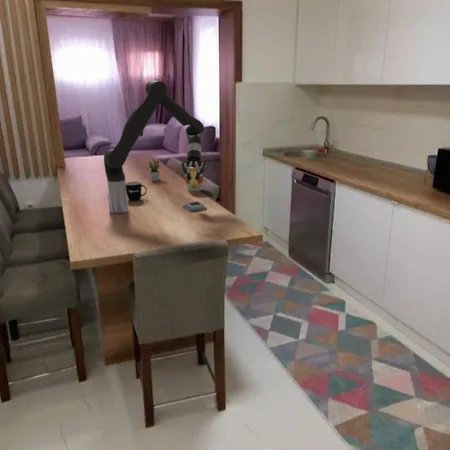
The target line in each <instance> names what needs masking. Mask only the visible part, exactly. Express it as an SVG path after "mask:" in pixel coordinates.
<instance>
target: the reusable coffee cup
mask: <svg viewBox="0 0 450 450" xmlns="http://www.w3.org/2000/svg"><path fill="white" fill-rule="evenodd" d="M185 169H186V171H188V166H187V165H186V167H185ZM201 169H202V165H201V166H200V167H199V171H201ZM184 181H185V182H184V183H186V184H185V185H186V188H187V191H188V192H200V191H202V187H203V183H204V173H203V174H200V179H199V180H198V181H197V183H198V187H197V188H190V181H188V180H187V174H184Z"/></svg>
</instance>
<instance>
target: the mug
mask: <svg viewBox="0 0 450 450" xmlns="http://www.w3.org/2000/svg"><path fill="white" fill-rule="evenodd" d="M142 188H144V190H145V192H144V193H143V194H142ZM147 192H148V189H147V187H146V186H145V185H143V184H142V182H141V181H135V180H133V181H127V182H126V193H127V200H129V201H130V202H137V201H138V202H139V201H140V200H141V198H142V197H143V196H145V195H146V194H147Z"/></svg>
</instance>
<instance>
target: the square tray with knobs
mask: <svg viewBox="0 0 450 450" xmlns="http://www.w3.org/2000/svg"><path fill="white" fill-rule="evenodd" d="M182 208H183V209H184V210H186V211H188V212H190V213H192V212H199V211H204V210H207V209H208V207H206V206H205V204H204V203H202V202H201V201H198V200H197V201H191V202H190V201H189V202H185V203H184V205H182Z"/></svg>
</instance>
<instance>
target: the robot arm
mask: <svg viewBox="0 0 450 450" xmlns="http://www.w3.org/2000/svg"><path fill="white" fill-rule="evenodd" d="M145 93H146V94H147V96H146V97H145V99H144V101H143V102H142V103H140V105H139V106H137V108H136V109H134V110H133V112H132V113H131V114H130V115H129V117H128V118H127V121H126V122H125V123H124V126H123V129H122V132H121V136H120V139H119V141H118V142H117V144H116V145H115V147H113V148H110V149H107V150H106V151H105V152H104V155H103V162H104V169H105V170H104V172H105V176H106V180H107V189H108V193H107V200H108V208H109V212H110V213H111V214H112V215H113V214H124V213H127V212H128V211H129V205H128V196H127V192H126V183H127V182H126V175H125V172H124V169H123V166H124V164H125V163H126V161H127V159H128V156H129V154H130V152H131V150H132V148H133V146H134V145H135V144H136V142H138V141H137V140H138V139H139V137H140V136H141V134H142V133H143V131H144V130H145V128H146V126H147V124H148V122H149V121H150V119H151V118H152V116H153V114H154V112H155V111H156V109H157V108H158V106H159V105H160V106H162V107H163V108H164V109H165V110H166V111H167V112H169V114H170V115H171V116H172V117H173V118H174V119H175V120H176V121H177V122H178V123H180V125H182V126H185V127H186V129H185V134H186V137H187V141H188V142H187V151H186V153H187V156H186V161H185V162H181V168H182V171H183V173H184V174H183V175H185V174H187V180H188V181H190V171H189V167H197V181H198V180H199V179H200V174H203V175H204V172H205V171H206V168H207V162H202V147H201V145H202V139H201V137H200V136H199V135H200V134H203V132H204V131H205V126H204V124H203V122H202V121H200V120H199V119H197V118H195V117H194V116H192V115H190V113H189V112H188V111H187V110H186V109H185V108H184V107H183V106H181V105H180V104H179V103H177V102H176V101H174V99H172V98H171V97H170V96H169V95H168V85H167V84H166V83H165V82H164V81H161V80H155V79H153V80H149V81H148V82H147V83H146V85H145ZM201 165H202V169H201V171H199V167H200V166H201ZM186 166H188V171H186V169H185V167H186Z"/></svg>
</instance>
